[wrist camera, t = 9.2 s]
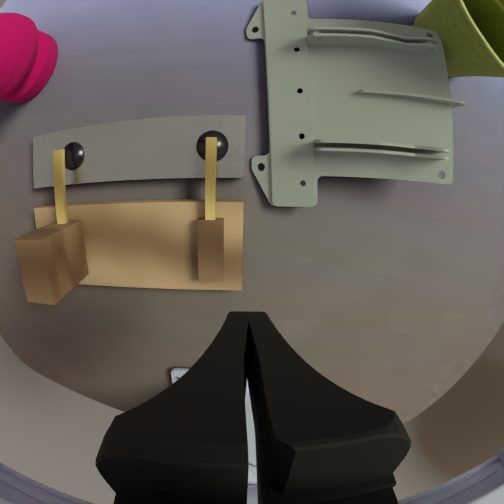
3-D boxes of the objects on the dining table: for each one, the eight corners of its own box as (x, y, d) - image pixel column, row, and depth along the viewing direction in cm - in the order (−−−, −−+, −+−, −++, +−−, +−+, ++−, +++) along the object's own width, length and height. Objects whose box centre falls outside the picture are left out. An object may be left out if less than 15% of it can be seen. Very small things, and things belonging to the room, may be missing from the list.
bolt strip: (243, 177, 19) (244, 178, 18) (41, 186, 18) (33, 188, 17) (245, 117, 18) (245, 115, 17) (40, 137, 17) (32, 137, 16)
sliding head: (88, 274, 19) (54, 305, 14) (63, 272, 19) (27, 301, 14) (78, 147, 16) (35, 148, 12) (52, 152, 16) (7, 155, 11)
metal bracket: (452, 2, 10) (471, 221, 14) (429, 30, 15) (440, 205, 20) (237, -9, 13) (246, 210, 18) (258, 23, 19) (265, 197, 23)
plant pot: (427, 107, 18) (505, 96, 9) (371, 4, 15) (425, -47, 7) (488, 86, 17) (555, 79, 8) (444, -2, 14) (499, -32, 6)
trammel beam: (241, 283, 21) (241, 295, 19) (52, 276, 21) (40, 285, 19) (244, 139, 18) (245, 137, 16) (40, 155, 18) (25, 156, 16)
